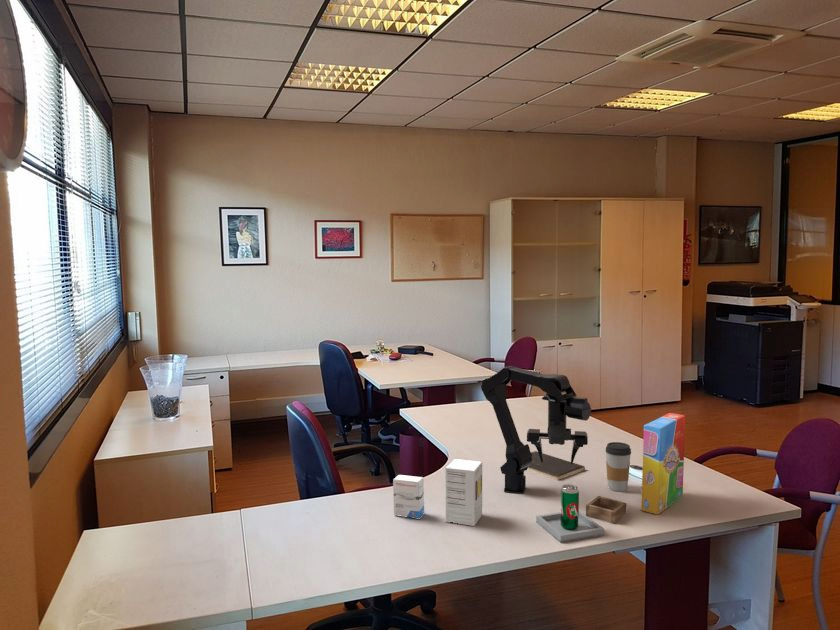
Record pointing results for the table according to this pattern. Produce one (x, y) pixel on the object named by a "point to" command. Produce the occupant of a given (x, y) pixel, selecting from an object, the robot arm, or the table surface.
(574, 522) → the soda can
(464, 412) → the table surface
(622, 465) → the coffee cup
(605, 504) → the walnut cup-holder
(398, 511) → the ink box
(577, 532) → the grey tray
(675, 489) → the game box
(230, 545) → the table surface
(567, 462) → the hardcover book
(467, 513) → the supplement box
